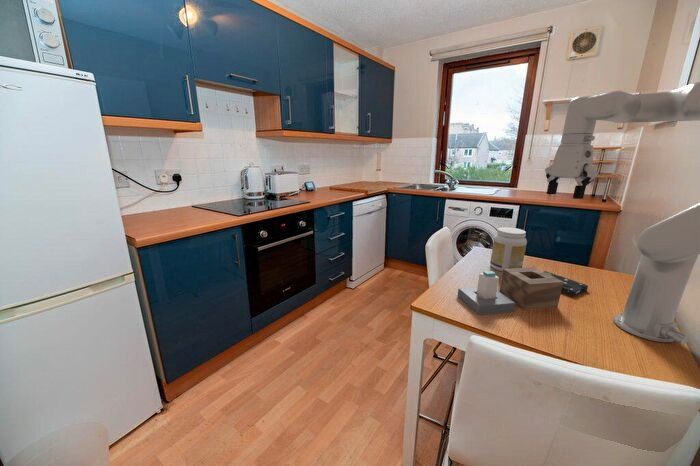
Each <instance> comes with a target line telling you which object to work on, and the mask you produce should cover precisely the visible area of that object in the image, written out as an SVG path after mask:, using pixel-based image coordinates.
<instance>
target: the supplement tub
mask: <svg viewBox="0 0 700 466" xmlns="http://www.w3.org/2000/svg"><path fill="white" fill-rule="evenodd" d="M526 233H527V231H525V230H524V229H521V228H515V227H510V226H509V227H505V226H504V227H498V228H497V231H496V234H495V235H494V236H493V243H492V249H491V256H490V262H489V264H490V266H491V268H493V269H494V270H497V271H500V272H503V269H511V268H523V265H524V264H523V263H524V259H525V254H526V248H527V243H528V240H527V239H526V236H527V235H526Z"/></svg>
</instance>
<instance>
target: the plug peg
mask: <svg viewBox="0 0 700 466" xmlns="http://www.w3.org/2000/svg"><path fill="white" fill-rule="evenodd" d="M499 279H500V277H499V276H498V275H497V273H496V272H495V271H492V270H484V271H483V272H479V275H478V281H477V286H476V287H477V295H478V296H479V297H480V298H482V299H483V300H486V299H495V298H496V292H497V291H498V286H499Z"/></svg>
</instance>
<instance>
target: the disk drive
mask: <svg viewBox="0 0 700 466" xmlns="http://www.w3.org/2000/svg"><path fill="white" fill-rule="evenodd" d="M543 272H545V273H547V274H549V275H551V276H553V277H555V278H557V279H559V280H561V281H563V287H562V291H561V294H563V295H566V296H569V297H572V298H574V297H576V296H579V295H581V294H583V293H585V292H587V291H588V288H589V285H587V284H586V283H581V282H579V281H575V280H573V279H569V278H568V277H564V276H561V275H558V274H555V273H552V272H549V271H546V270H545V271H543Z"/></svg>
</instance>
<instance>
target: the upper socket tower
mask: <svg viewBox="0 0 700 466" xmlns="http://www.w3.org/2000/svg"><path fill="white" fill-rule="evenodd" d="M562 287H563V281H561V280H559V279H557V278H555V277H553V276H551V275H549V274H547V273H545V272H544V271H542V270H540V269H538V268H536V267H534V266H529V267H527V266H526V267H522V268H511V269H503V271H502V274H501V280H500V284H499V290H498V291H499V292H500V293H502V294H503V295H504V296H506V297H507V298H509V299H510V300H512V301H513V302H515V305H517V306H518V307H519V308H521V309H522V310H524V311H533V310H535V311H536V310H544V309H554V308H558V307H559V302H560V299H561V295H562V293H561V291H562Z"/></svg>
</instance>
